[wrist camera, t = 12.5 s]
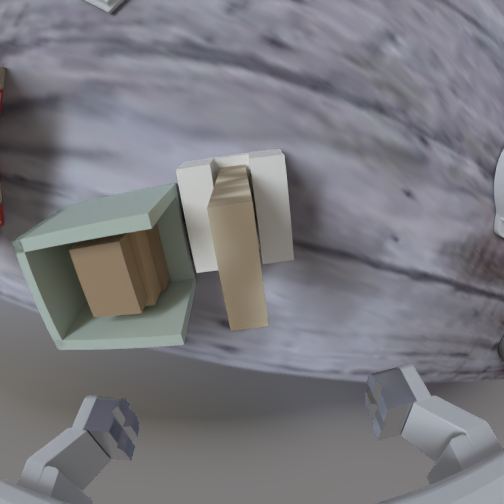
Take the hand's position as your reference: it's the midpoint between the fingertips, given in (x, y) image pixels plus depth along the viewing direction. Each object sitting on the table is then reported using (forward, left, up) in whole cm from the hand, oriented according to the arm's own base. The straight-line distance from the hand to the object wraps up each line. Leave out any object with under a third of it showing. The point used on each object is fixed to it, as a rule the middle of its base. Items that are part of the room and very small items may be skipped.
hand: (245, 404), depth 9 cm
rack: (+9, +10, -26) cm, 29 cm away
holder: (0, 0, -26) cm, 26 cm away
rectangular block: (0, 0, -24) cm, 24 cm away
